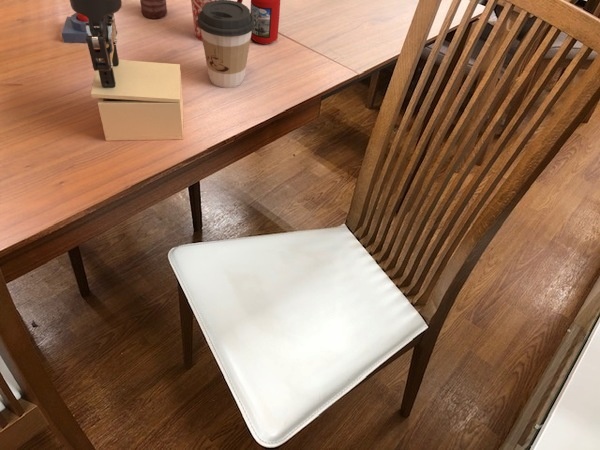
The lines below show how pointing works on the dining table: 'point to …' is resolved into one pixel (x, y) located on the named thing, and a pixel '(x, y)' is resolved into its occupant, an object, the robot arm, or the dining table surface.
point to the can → (154, 8)
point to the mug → (197, 3)
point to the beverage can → (265, 20)
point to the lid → (141, 82)
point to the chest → (141, 119)
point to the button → (82, 18)
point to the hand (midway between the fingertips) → (111, 75)
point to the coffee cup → (226, 40)
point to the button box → (74, 30)
